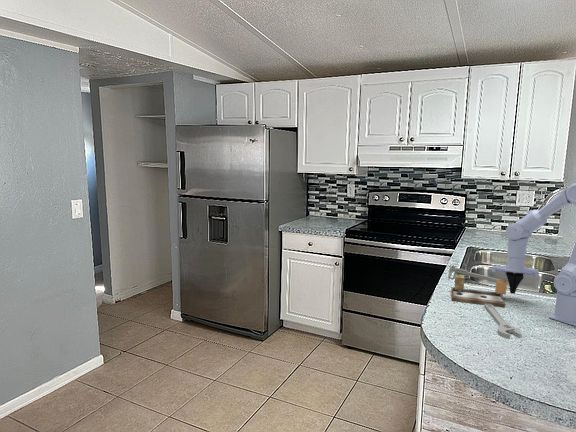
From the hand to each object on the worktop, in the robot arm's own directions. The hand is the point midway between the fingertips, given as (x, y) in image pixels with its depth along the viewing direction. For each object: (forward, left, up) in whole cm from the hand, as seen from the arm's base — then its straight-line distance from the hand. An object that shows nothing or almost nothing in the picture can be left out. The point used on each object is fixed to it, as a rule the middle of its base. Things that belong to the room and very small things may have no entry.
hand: (512, 292), depth 147 cm
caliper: (+21, -10, -3) cm, 23 cm away
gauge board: (+8, +10, -3) cm, 13 cm away
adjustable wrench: (-8, +22, -3) cm, 24 cm away
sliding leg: (+2, +4, -1) cm, 5 cm away
